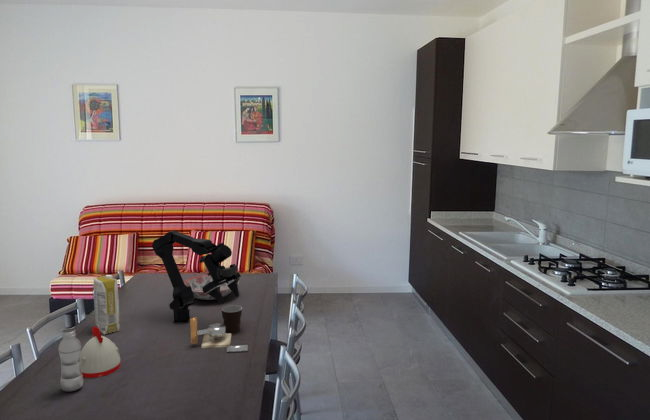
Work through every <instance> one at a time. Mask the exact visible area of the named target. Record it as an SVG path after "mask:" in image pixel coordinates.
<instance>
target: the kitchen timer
mask: <svg viewBox="0 0 650 420" xmlns="http://www.w3.org/2000/svg"><path fill="white" fill-rule="evenodd" d="M91 332H92V338H91V337H90V339H89V340H88V341H87V342H86V343H85V344H84V345H83V347H82V348H81V354H80V365H81V372H82V375H83V378H86V379H87V378H89V379H93V378H100V377H101V378H102V377H105V376H108V375H111V374H113V373H115V372H116V371H117V369H118V370H119V369H120V368H121V366H122V365H121V355H120V351H119V347H117V345H116V343H115V342H113V341H112V340H111V339H109V338H108V337H106V336H104V335H102V333H101V332H100V329H98V327H97V328H96V325H94V326H93V328H92V329H91ZM120 365H121V366H120ZM119 367H120V368H119Z"/></svg>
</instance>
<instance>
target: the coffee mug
mask: <svg viewBox="0 0 650 420" xmlns="http://www.w3.org/2000/svg"><path fill="white" fill-rule="evenodd" d="M242 311H243V307H242V306H240V305H237V304H231V305H226V306H223V307H222V308H221V316H222V324H224V325H225V326H226V333H231V335H236V334H238V333H240V330H241V320H242V313H243V312H242Z"/></svg>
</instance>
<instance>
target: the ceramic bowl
mask: <svg viewBox="0 0 650 420" xmlns="http://www.w3.org/2000/svg"><path fill="white" fill-rule="evenodd" d="M212 281H213V279H212V277H211V276H208V274H203V275H202V274H201V275H196V276H192V277H189V278H186V279H183V282H184V284H185V285H186V286H191V288H192V291H193V293H194V294H193V295H194V299H199V300H203V301H204V300H205V301H206V300H207V301H213V300H216V299H215V298H214V297H212V296H210V295H209V294H208V295H207V293H208V292H207V293H205V294H204V292H203V290H202V287H203V286H205V285H206V284H208V283H209V282H212ZM239 283H240V281H238V285H239ZM227 285H228V284H227V283H224V284H222V285H219V286H220V292H221V294H222V297H223V298H224V297H226V296H228V295H229V294H230V293H232V291H231V290H230V289H229V287H228V286H227ZM219 286H218V287H219Z"/></svg>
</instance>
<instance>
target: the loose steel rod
mask: <svg viewBox="0 0 650 420" xmlns="http://www.w3.org/2000/svg"><path fill="white" fill-rule="evenodd" d="M248 346H249V345H248V344H242V345H237V344H236V345H230V346H227V347H226V353H238V352H239V353H241V352H244V353H245V352H249V347H248Z"/></svg>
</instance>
